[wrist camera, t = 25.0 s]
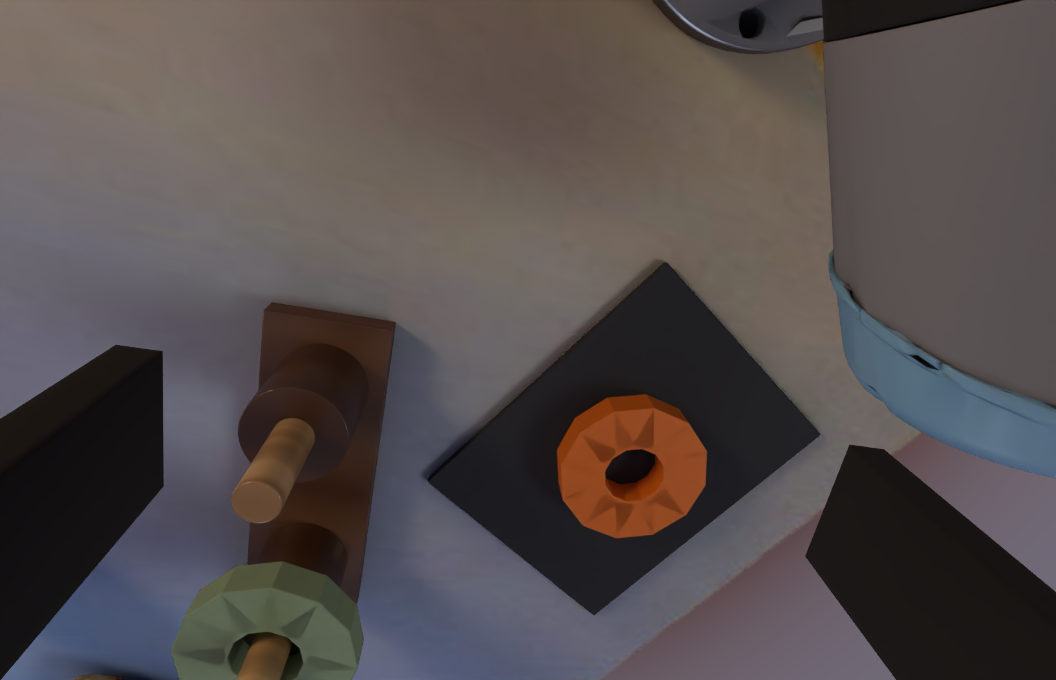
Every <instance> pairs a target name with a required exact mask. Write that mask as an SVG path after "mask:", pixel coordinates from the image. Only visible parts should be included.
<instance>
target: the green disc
mask: <svg viewBox="0 0 1056 680" xmlns="http://www.w3.org/2000/svg"><path fill="white" fill-rule="evenodd" d="M260 632H271V633H275V634H278V635H281V636H285V637H288V638H289V639H290V640H291V641H292V642H293V643H294V644H295V645H297V646H298V647H299V648H300V651H299V652H297V653H296V654H294V655H291V656H288V658H287V661H286V664H285V667H284V670H283V673H282V676H281V678H280V680H352V678H353V676H354V674H355V672H356V670H357V668H358V664H359V660H360V655H361V650H362V646H363V641H364V637H363V632H362V627H361V622H360V617H359V612H358V607H357V604H356V603H355V602H354V601H353V600H352V599H351V598H350V597H349V596H348V595H346V594H345V593H344V592H343V591H342V590H341V589H340V588H339V587H338V586H337V585H336V584H335V583H334V582H333V581H332V580H331V579H330V578H329V577H328V576H327V575H324V574H321V573H318V572H314V571H311V570H308V569H305V568H302V567H299V566H296V565H293V564H290V563H287V562H283V561H281V562H272V563H262V564H253V565H243V566H236V567H234V568H233V569H231V570H230V571H228V572H227V573H225V574H224V575H222V576H220V577H219V578H217V579H216V580H214V581H213V582H211V583H210V584H208V585H207V586H205V587H203V588H202V589H200V591H199V592H198V594H197V596H196V597H195V599H194V601H193V603H192V604H191V606H190V608H189V610H188V611H187V613H186V615H185V616H184V619H183V621H182V624H181V626H180V629H179V632H178V634H177V637H176V639H175V642H174V644H173V647H172V649H171V654H172V657H173V660H174V663H175V666H176V669H177V672H178V675H179V678H180V680H236V679H237V676H238V674H239V671H240V669H241V667H242V664H243V662H244V660H245V657H246V655H247V653H248V650H249V648H250V645H249V644H248V643H246V642H245V640H244V636H245V635H247V634H251V633H260Z"/></svg>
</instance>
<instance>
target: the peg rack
mask: <svg viewBox="0 0 1056 680" xmlns="http://www.w3.org/2000/svg"><path fill="white" fill-rule="evenodd" d="M395 325H396V323H395V322H390V321H384V320H377V319H371V318H365V317H359V316H352V315H346V314H340V313H334V312H327V311H321V310H315V309H309V308H302V307H296V306H290V305H284V304H277V303H271V304H270V305H269V306H268V307H267V308H265V309H264V311H263V325H262V341H261V357H260V373H259V389H258V392H257V393H256V395H255V396H254V397H253V399H252V400H251V401H250V402H249V404H248V405H247V406H246V408H245V409H244V411H243V413H242V415H241V417H240V420H239V425H238V437H239V442H240V445H241V448H242V450H243V452H244V454H245V455H246V457H247V458H248V460H249V461H250V462H251V464H250V466H249V468H248V469H247V471H246V472H245V474H244V475H243V477H242V478H241V480H240V482H239V483H238V485H237V486H236V488H235V489H234V491H233V493H232V496H231V504H232V507H233V510H234V511H235V513H236V514H237V515H238V516H239V517H241V518H242V519H244V520H246V521H248V522H250V533H249V549H248V565H253V564H262V563H272V562H281V561H283V562H287V563H290V564H293V565H296V566H299V567H302V568H305V569H308V570H311V571H314V572H318V573H321V574H324V575H327V576H328V577H329V578H330V579H331V580H332V581H333V582H334V583H335V584H336V585H337V586H338V587H339V588H340V589H341V590H342V591H343V592H344V593H345V594H346V595H348V596H349V597H350V598H351V599H352V600H353V601H354V602H355V603H356V604H357V602H358V598H359V592H360V584H361V577H362V569H363V562H364V555H365V547H366V540H367V532H368V525H369V518H370V510H371V503H372V495H373V488H374V481H375V473H376V466H377V458H378V451H379V444H380V436H381V429H382V421H383V414H384V407H385V399H386V392H387V384H388V377H389V370H390V362H391V355H392V347H393V340H394V333H395ZM244 640H245V642H246V643H248V644H249V645H250V648H249V650H248V653H247V655H246V657H245V660H244V662H243V664H242V667H241V669H240V671H239V674H238V676H237V679H236V680H280V678H281V676H282V673H283V670H284V667H285V664H286V661H287V658H288V656H291V655H294V654H296V653H297V652H299V651H300V648H299V647H298V646H297V645H295V644H294V643H293V642H292V641H291V640H290V639H289V638H288V637H285V636H281V635H278V634H275V633H271V632H260V633H251V634H247V635H245V636H244Z"/></svg>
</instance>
